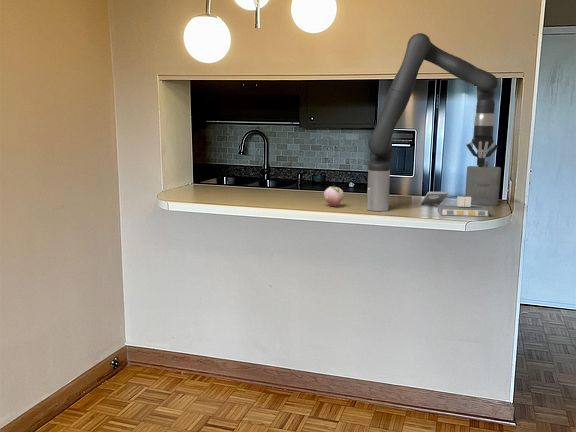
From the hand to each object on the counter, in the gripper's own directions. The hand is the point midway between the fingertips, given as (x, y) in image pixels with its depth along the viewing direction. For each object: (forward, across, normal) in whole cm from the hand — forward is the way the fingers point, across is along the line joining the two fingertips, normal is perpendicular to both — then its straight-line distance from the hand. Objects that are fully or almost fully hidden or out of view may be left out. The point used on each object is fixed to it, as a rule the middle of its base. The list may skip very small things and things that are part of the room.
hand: (480, 167), depth 234 cm
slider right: (+16, -4, -1) cm, 17 cm away
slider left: (+16, -7, -1) cm, 18 cm away
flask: (+20, +8, +28) cm, 35 cm away
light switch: (+20, -16, +16) cm, 30 cm away
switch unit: (+20, -6, -1) cm, 21 cm away
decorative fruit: (+21, -60, +9) cm, 64 cm away
